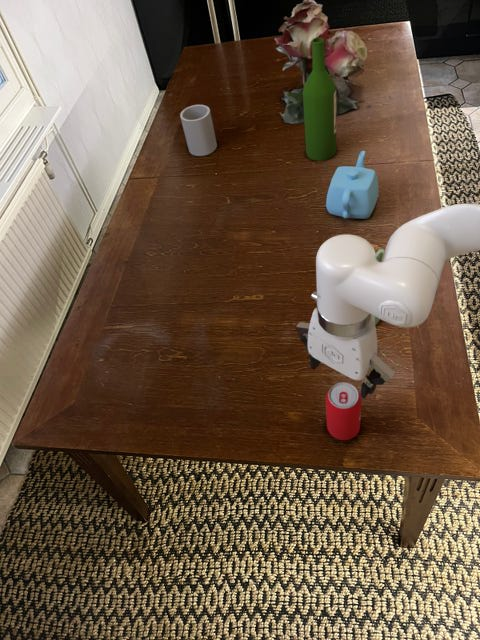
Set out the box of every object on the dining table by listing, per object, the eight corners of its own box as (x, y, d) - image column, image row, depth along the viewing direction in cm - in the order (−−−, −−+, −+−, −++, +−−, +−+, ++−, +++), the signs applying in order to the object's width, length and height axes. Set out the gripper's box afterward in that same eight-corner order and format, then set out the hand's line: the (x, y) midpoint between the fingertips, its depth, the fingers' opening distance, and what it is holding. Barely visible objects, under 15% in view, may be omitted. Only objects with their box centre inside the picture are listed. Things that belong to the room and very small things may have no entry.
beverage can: (360, 414, 102) (362, 380, 93) (359, 443, 99) (361, 412, 89) (327, 411, 104) (326, 378, 94) (325, 440, 100) (324, 409, 91)
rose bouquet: (373, 107, 169) (378, 5, 146) (285, 128, 169) (276, 30, 146) (348, 71, 185) (349, -25, 162) (267, 90, 185) (257, -3, 162)
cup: (186, 143, 171) (178, 109, 162) (213, 136, 172) (206, 101, 162) (191, 158, 165) (182, 124, 156) (219, 151, 166) (212, 116, 157)
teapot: (384, 186, 144) (387, 149, 135) (368, 230, 134) (370, 193, 125) (339, 181, 148) (339, 145, 139) (321, 223, 138) (320, 187, 129)
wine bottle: (339, 157, 155) (340, 43, 130) (309, 163, 155) (304, 51, 130) (332, 141, 161) (331, 29, 136) (303, 147, 161) (296, 36, 136)
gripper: (279, 304, 77) (286, 368, 90) (385, 359, 69) (376, 420, 82) (308, 272, 80) (311, 338, 93) (413, 321, 72) (400, 386, 85)
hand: (341, 377), depth 88 cm, fingers open, 9 cm apart
